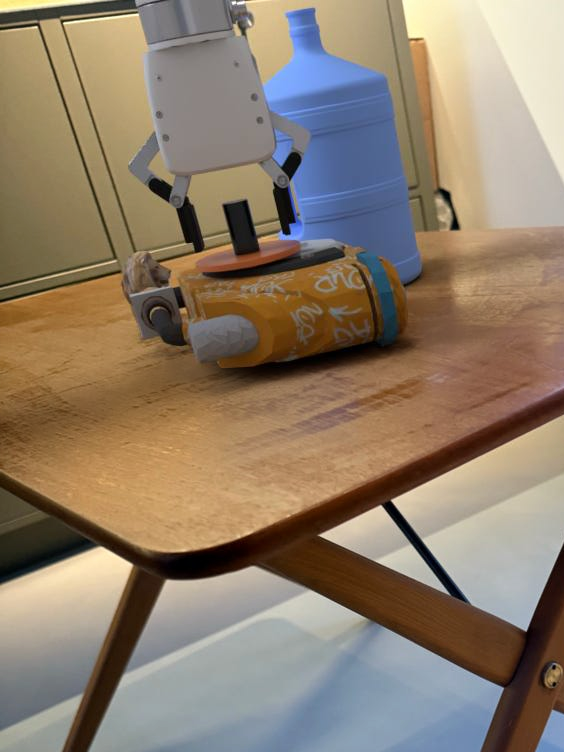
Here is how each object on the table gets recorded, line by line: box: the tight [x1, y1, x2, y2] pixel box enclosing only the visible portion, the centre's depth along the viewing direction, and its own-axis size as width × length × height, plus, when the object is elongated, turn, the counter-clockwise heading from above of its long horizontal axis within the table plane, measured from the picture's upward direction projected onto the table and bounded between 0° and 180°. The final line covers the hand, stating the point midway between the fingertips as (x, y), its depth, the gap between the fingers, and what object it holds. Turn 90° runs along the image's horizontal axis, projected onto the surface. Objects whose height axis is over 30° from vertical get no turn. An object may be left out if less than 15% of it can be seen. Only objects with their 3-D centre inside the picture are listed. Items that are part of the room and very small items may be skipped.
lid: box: [194, 198, 301, 272], centre depth 97 cm, size 10×10×5 cm
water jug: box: [262, 6, 423, 286], centre depth 115 cm, size 16×16×28 cm
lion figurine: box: [120, 250, 172, 340], centre depth 117 cm, size 15×5×9 cm, turn 24°
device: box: [130, 239, 409, 369], centre depth 100 cm, size 23×8×30 cm
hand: (243, 240), depth 97 cm, fingers open, 7 cm apart
